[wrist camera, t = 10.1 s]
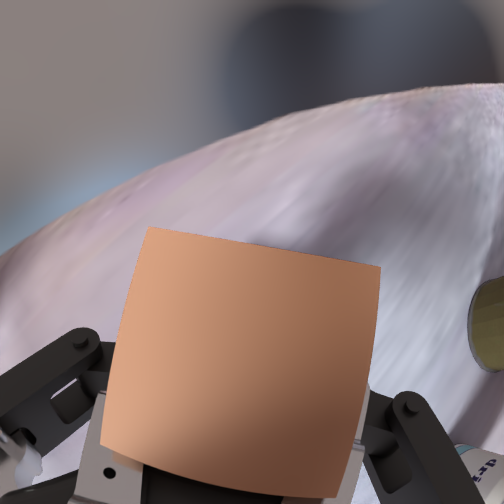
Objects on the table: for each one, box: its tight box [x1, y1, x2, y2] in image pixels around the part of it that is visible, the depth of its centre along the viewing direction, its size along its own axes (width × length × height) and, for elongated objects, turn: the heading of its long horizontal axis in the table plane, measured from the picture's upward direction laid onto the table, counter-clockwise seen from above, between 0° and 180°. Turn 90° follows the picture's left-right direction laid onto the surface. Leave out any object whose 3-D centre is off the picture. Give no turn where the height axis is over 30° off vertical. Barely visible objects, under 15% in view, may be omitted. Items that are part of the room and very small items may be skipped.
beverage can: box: [454, 444, 504, 504], centre depth 11 cm, size 7×7×12 cm
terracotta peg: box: [100, 227, 381, 498], centre depth 10 cm, size 4×4×12 cm
